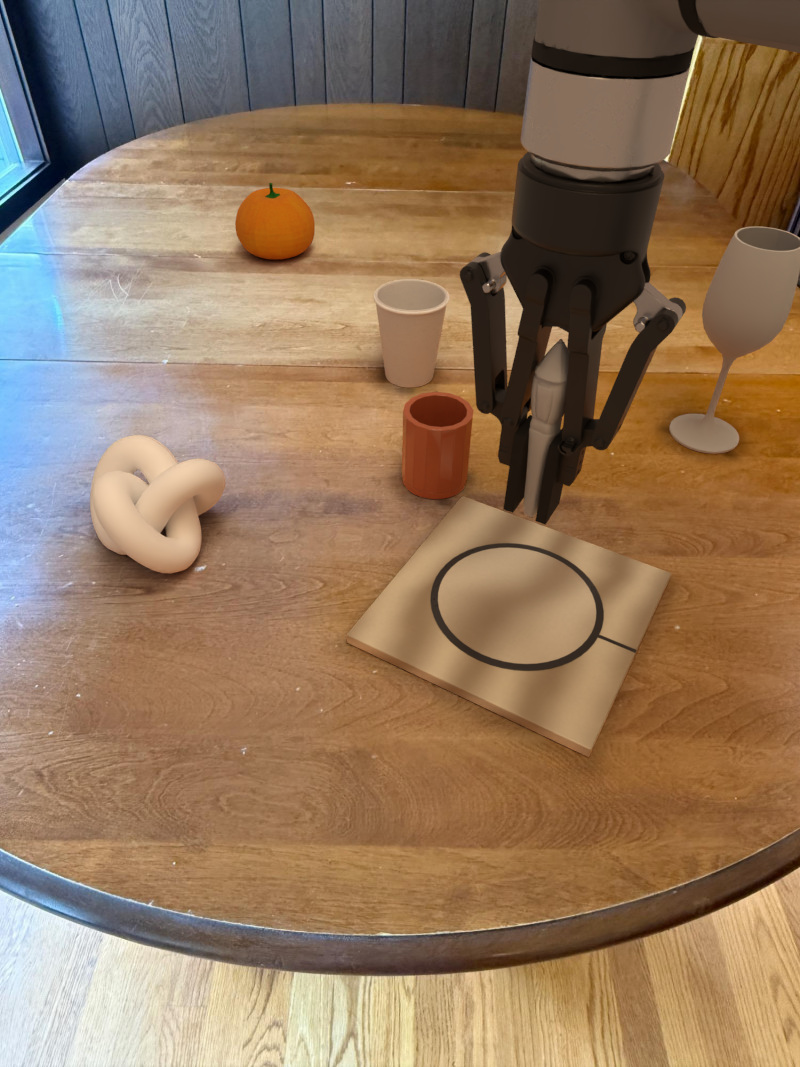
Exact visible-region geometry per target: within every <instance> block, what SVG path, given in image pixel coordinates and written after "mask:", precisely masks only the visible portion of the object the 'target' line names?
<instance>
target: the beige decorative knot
mask: <svg viewBox="0 0 800 1067" xmlns="http://www.w3.org/2000/svg"><path fill="white" fill-rule="evenodd" d="M136 471H140V472H141V473H142V474H143V476H144V477H145V479H146V480H147V482H146V481H145V480H142V479H141V478H140V477H138V476H137V475H134V474H135V473H136ZM226 483H227V482H226V476H225V473H224V471H223V470H222V468H220V466H219V465H218V464H217V463H216V462H214V461H212V460H208V459H206V458H191V459H187V460H184V461H181V462H178V460H177V458H176V457H175V456H174V454H173V453H172V452H171V451H170V449H169V448H168V447H167V446H165V445H164V444H163V443H161V442H160V441H159V440H158V439H155V438H154V437H151V436H148V435H145V434H133V435H128V436H124V437H121V438H120V439H118V440H116V441H114V442H112V443H111V444H110V446H108V447H107V448H106V449H105V450H104V452H103V454H102V455H101V456H100V458H99V460H98V463H97V465H96V467H95V469H94V473H93V477H92V480H91V484H90V485H91V486H90V492H89V493H90V494H89V509H90V517H91V521H92V525H93V528H94V532H95V533H96V536H97V538H98V539H99V541H100V542H101V544H102V545H103V546H104V547H105V548H106V549H107V550H110V551H112V552H114V553H115V554H118V555H121V556H126V555H127V557H129V558H131V559H132V560H134V561H135V562H136V563H138V564H140V565H142V566H143V567H146V568H147V569H149V570H152V571H154V572H158V573H161V574H174V573H178V572H179V573H180V572H183V571H185V570H187V569H188V568H189V567H191V566H192V565H193V563H194V562H195V561H196V559H197V558H198V556H199V554H200V551H201V547H202V540H203V539H202V537H203V536H202V535H203V534H202V527H201V522H200V518H199V516H200V515H203V514H204V513H206V512H207V511H209V510H211V509H212V508H213V507H214V506H215V505H216V504H217V503H218V502H219V501H220V499H221V498H222V495H223V493H224V491H225V489H226ZM164 529H165V535H163V534H162V532H163V530H164Z"/></svg>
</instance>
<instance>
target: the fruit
mask: <svg viewBox="0 0 800 1067" xmlns="http://www.w3.org/2000/svg"><path fill="white" fill-rule="evenodd" d="M268 185H269V186H268V187H266V188H265V187H264V188H261V189H256V190H254V191H252V192H250V193H249V194H248V195H247V196H246V197H245V198H244V200H243V201H242V202H241V204H240V205H239V207H238V209H237V211H236V216H235V223H234V224H235V227H234V228H235V233H236V237H237V239H238V242H240V244H241V245H242V247H243V248H244V250H246V251H247V252H248V253H249V254H252V255H253V256H255V257H258V258H261V259H266V260H273V261H275V260H276V261H277V260H286V259H290V258H293V257H297V256H299V255H301V254H302V253H304V252H306V251H307V249H308V248H309V246H311V244H312V242H313V241H314V238H315V231H316V230H315V229H316V228H315V226H316V225H315V224H316V223H315V217H314V214H313V211H312V209H311V208H310V206H309V205H308V203H307V202H306V201H305V199H304V198H302V197H301V196H300V195H299V194H298V193H296V191H294V190H291V189H288V188H283V187H274V186H273V183H272V182H269V183H268Z"/></svg>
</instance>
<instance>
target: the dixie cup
mask: <svg viewBox="0 0 800 1067" xmlns="http://www.w3.org/2000/svg"><path fill="white" fill-rule="evenodd" d="M372 298H373V301H374V303H375V306H376V314H377V321H378V322H377V323H378V329H379V330H378V331H379V336H380V344H381V345H380V346H381V354H382V360H383V367H384V375H385V378H386V380H387V382H389V383H391V384H393V385H395V386H397V387H402V388H418V387H423V386H425V385H427V384H429V383H431V381H432V380H433V378H434V374H435V368H436V364H437V358H438V353H439V352H438V351H439V347H440V342H441V337H442V331H443V326H444V321H445V314H446V310H447V305H448V304H449V303H450V299H451V297H450V293H449V292H448V290H446V289H445V287H443V286H442V285H440V284H438V283H435V282H433V281H429V280H426V279H420V278H400V279H395V280H390V281H387V282H385V283H382V284H381V285H379V286H378V287H377V288H376V289H375V290H374V292H373V295H372Z"/></svg>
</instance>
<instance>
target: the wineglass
mask: <svg viewBox="0 0 800 1067" xmlns="http://www.w3.org/2000/svg"><path fill="white" fill-rule="evenodd" d="M799 277H800V237H799V236H798V235H796V234H794V233H792V232H789V231H787V230H785V229H784V230H783V229H779V228H775V227H770V226H769V227H768V226H746V227H742V228H738V229H737V230H735V232H734V234H733V235H732V237H731V238H730V241H729V243H728V245H727V246H726V248H725V250H724V253H723V255H722V256H721V259H720V261H719V263H718V265H717V267H716V269H715V272H714V274H713V276H712V279H711V282H710V283H709V286H708V289H707V291H706V294H705V297H704V301H703V305H702V310H701V318H702V325H703V326H702V327H703V330H704V332H705V334H706V336H707V338H708V339H709V341H710V343H712V345H713V346H714V347H715V349H716V350H717V351H718V352H719V353H720V354H721V356H722V364H721V369H720V372H719V375H718V377H717V378H718V379H717V380H716V384H715V387H714V390H713V393H712V396H711V398H710V402H709V405H708V408H707V411H706V413H705V414H704V413H685V414H681V415H678V416H676V417H675V418H673V419H672V420H671V421H670V424H669V427H668V429H669V434H670V436H671V437H672V438H673V439H674V441H675V442H677V443H678V444H680V446H683V447H685V448H687V449H688V450H691V451H695V452H699V453H703V454H713V455H717V454H725V453H728V452H731V451H732V450H734V449H735V448H736V447H738V444H739V441H740V435H739V432H738V431H737V429H736V428H735V427H734V426H733V425H732V424H730V423H728V422H727V421H726V420H723V419H721V418H720V417H716V416H715V412H716V409H717V406H718V404H719V400H720V398H721V395H722V391H723V389H724V386H725V384H726V381H727V377H728V374H729V371H730V369H731V366H732V365H733V363H734V362H735V361H736V360H737V359H738V358H741V357H744V356H747V355H749V354H752V353H754V352H756V351H759V350H761V349H762V348H763V347H766V346H767V345H769V344H770V343H771V342H772V341H774V339H775V338H776V337H777V336H778V335H779V334H780V333H781V332H782V330H783V328H784V326H785V324H786V323H787V321H788V318H789V315H790V312H791V310H792V305H793V302H794V299H795V295H796V291H797V286H798V282H799Z"/></svg>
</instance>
